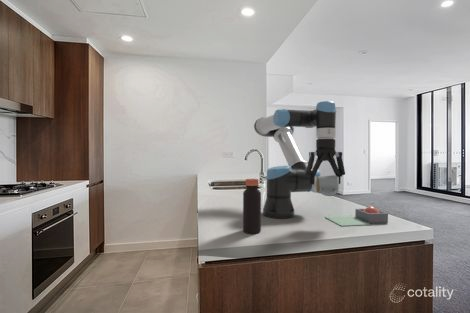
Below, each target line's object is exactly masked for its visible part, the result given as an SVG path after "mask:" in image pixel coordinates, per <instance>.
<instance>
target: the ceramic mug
mask: <svg viewBox="0 0 470 313" xmlns="http://www.w3.org/2000/svg"><path fill="white" fill-rule="evenodd" d="M317 193H318V194H321V195H323V196H325V197H334V196H335V195H337V194H338V193H339V192H338V181H337V177H336V175H335V174H334V175H333V174H332V175H321V176H318V177H317ZM317 193H316V194H317Z"/></svg>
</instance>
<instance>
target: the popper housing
mask: <svg viewBox="0 0 470 313" xmlns="http://www.w3.org/2000/svg"><path fill="white" fill-rule="evenodd" d="M365 209H366V208H355V211H354V212H355V218H357V219H360V220H362V221H364V222H366V223H369V224H383V223H384V224H386V223H388V222H389V213H388V212H385V211H382V210H378V209H377V211H379V212H380V213H370V214H369V213H367V212H364V211H363V210H365Z"/></svg>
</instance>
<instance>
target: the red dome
mask: <svg viewBox="0 0 470 313" xmlns="http://www.w3.org/2000/svg"><path fill="white" fill-rule="evenodd" d="M364 209H365V210H363V211H364V212H367V213H369V214H370V213H380V212H379V211H380V210H379V211H377V210H378V209H377V208H376V207H374V206H372V205H370V206H367V207H366V208H364Z"/></svg>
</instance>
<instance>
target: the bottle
mask: <svg viewBox="0 0 470 313" xmlns="http://www.w3.org/2000/svg"><path fill="white" fill-rule="evenodd" d="M245 187H246V188H245V189H244V191H243V193H242V196H243V197H242V200H243V202H242V205H243V206H242V214H243V215H242V217H243V218H242V219H243V220H242V223H243V225H242V226H243V227H242V230H243V232H244V233H246V234H248V235H249V234H250V235H256V234H260V233H261V230H262V224H261V222H262V220H261V219H262V218H261V217H262V215H261V214H262V213H261V212H262V203H261V202H262V193H261V191H260V189H259V188H258V187H259V179H257V178H246V179H245Z"/></svg>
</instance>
